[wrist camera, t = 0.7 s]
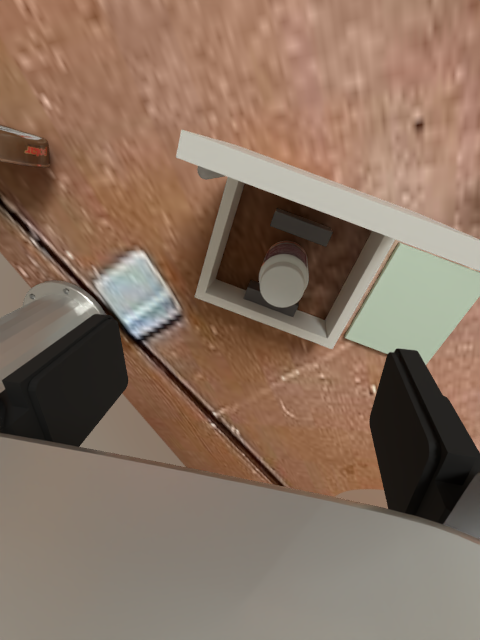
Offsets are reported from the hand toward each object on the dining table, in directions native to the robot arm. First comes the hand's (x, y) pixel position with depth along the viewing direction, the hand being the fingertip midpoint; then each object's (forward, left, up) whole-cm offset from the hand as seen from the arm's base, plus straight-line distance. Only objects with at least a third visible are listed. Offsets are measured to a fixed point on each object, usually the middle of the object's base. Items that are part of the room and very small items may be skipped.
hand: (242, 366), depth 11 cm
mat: (-3, -17, -26) cm, 31 cm away
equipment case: (-2, -2, -26) cm, 26 cm away
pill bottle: (-3, -2, -26) cm, 26 cm away
